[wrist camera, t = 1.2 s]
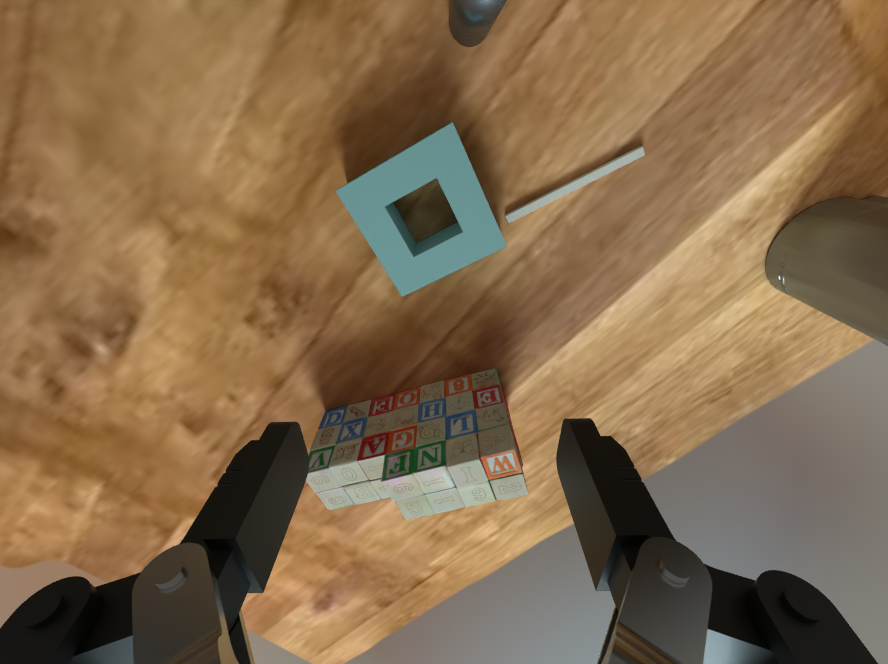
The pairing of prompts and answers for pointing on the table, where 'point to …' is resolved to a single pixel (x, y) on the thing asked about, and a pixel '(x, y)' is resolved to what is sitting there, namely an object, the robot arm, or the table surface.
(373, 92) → the table surface
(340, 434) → the stack of blocks
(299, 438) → the robot arm
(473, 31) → the grey metal cylinder
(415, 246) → the bead
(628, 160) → the grey stick
